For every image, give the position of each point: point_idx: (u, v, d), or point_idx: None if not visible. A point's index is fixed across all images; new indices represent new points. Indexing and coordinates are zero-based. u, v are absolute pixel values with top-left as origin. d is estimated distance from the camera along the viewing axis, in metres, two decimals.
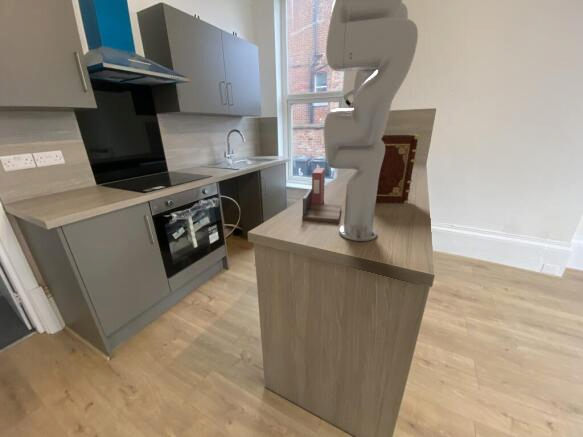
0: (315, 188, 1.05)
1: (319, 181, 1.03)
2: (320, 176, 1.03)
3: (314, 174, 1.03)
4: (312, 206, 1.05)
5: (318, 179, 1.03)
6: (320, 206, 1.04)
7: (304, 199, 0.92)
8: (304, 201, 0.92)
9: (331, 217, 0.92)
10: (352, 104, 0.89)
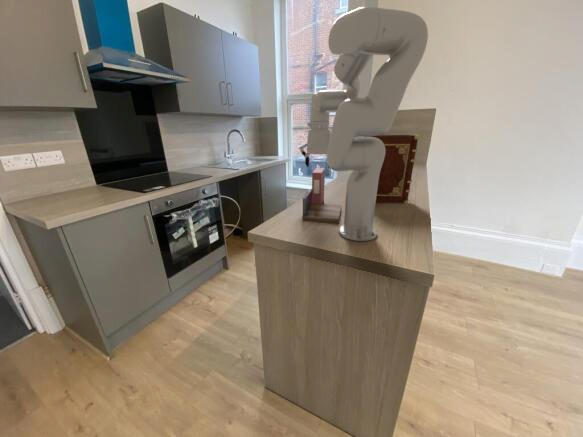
0: (315, 188, 1.05)
1: (319, 181, 1.03)
2: (320, 176, 1.03)
3: (314, 174, 1.03)
4: (312, 206, 1.05)
5: (318, 179, 1.03)
6: (320, 206, 1.04)
7: (304, 199, 0.92)
8: (304, 201, 0.92)
9: (331, 217, 0.92)
10: (306, 155, 1.06)
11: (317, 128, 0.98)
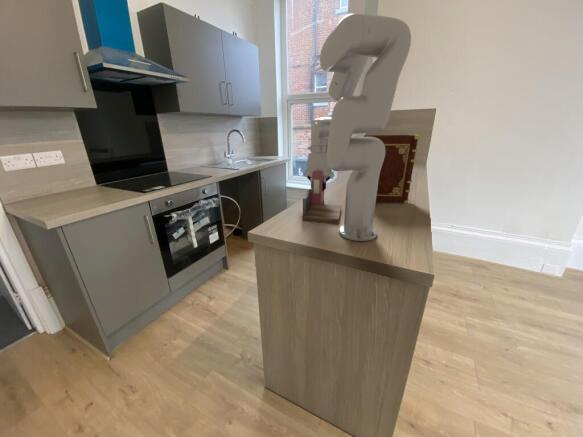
0: (315, 188, 1.05)
1: (319, 181, 1.03)
2: (320, 176, 1.03)
3: (314, 174, 1.03)
4: (312, 206, 1.05)
5: (318, 179, 1.03)
6: (320, 206, 1.04)
7: (304, 199, 0.92)
8: (304, 201, 0.92)
9: (331, 217, 0.92)
10: (311, 179, 1.09)
11: (317, 152, 1.02)
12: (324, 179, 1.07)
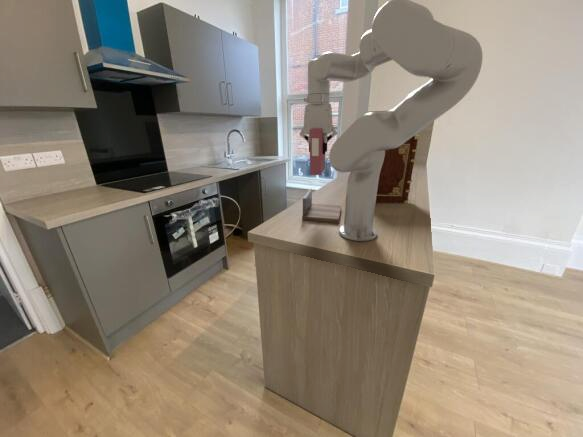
0: (314, 149, 0.86)
1: (318, 140, 0.84)
2: (319, 133, 0.83)
3: (312, 131, 0.83)
4: (312, 206, 1.05)
5: (317, 137, 0.84)
6: (320, 206, 1.04)
7: (304, 199, 0.92)
8: (304, 201, 0.92)
9: (331, 217, 0.92)
10: (309, 139, 0.89)
11: (315, 102, 0.82)
12: (325, 138, 0.88)
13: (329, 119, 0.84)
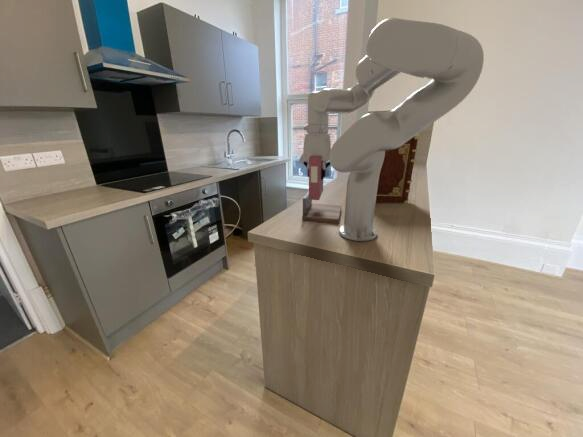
0: (313, 176, 0.89)
1: (317, 168, 0.88)
2: (318, 162, 0.87)
3: (311, 160, 0.87)
4: (312, 206, 1.05)
5: (316, 166, 0.87)
6: (320, 206, 1.04)
7: (304, 199, 0.92)
8: (304, 201, 0.92)
9: (331, 217, 0.92)
10: (308, 165, 0.93)
11: (315, 132, 0.86)
12: (323, 165, 0.91)
13: (328, 148, 0.87)
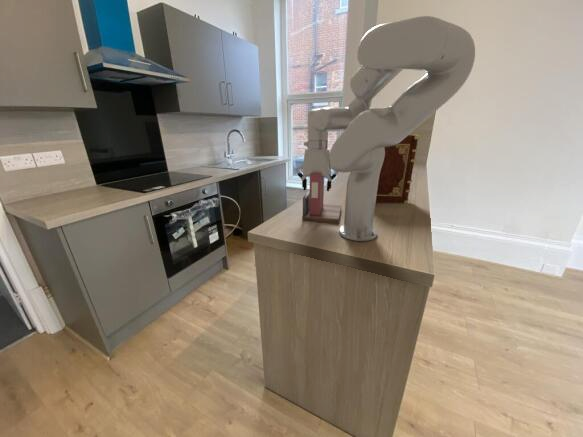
0: (313, 192, 0.92)
1: (318, 184, 0.90)
2: (319, 178, 0.89)
3: (312, 176, 0.90)
4: None
5: (316, 182, 0.90)
6: None
7: (304, 199, 0.92)
8: (304, 201, 0.92)
9: (331, 217, 0.92)
10: (303, 177, 0.95)
11: (314, 148, 0.88)
12: (328, 177, 0.93)
13: (327, 163, 0.89)
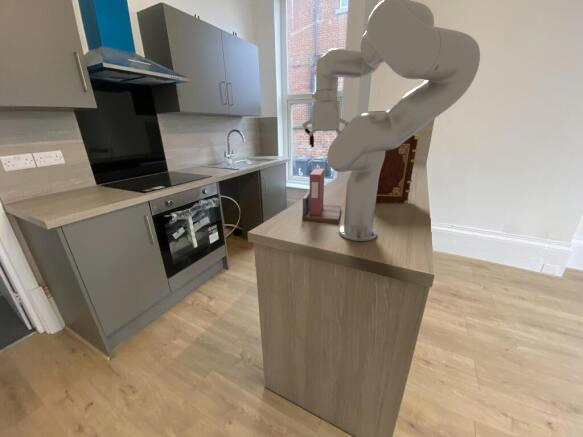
0: (313, 192, 0.92)
1: (318, 184, 0.90)
2: (319, 178, 0.89)
3: (312, 176, 0.90)
4: None
5: (316, 182, 0.90)
6: None
7: (304, 199, 0.92)
8: (304, 201, 0.92)
9: (331, 217, 0.92)
10: (311, 133, 0.90)
11: (324, 98, 0.83)
12: (338, 132, 0.88)
13: (337, 116, 0.85)
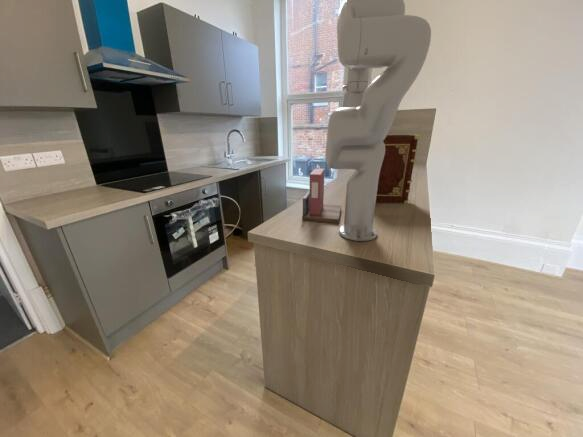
0: (313, 192, 0.92)
1: (318, 184, 0.90)
2: (319, 178, 0.89)
3: (312, 176, 0.90)
4: None
5: (316, 182, 0.90)
6: None
7: (304, 199, 0.92)
8: (304, 201, 0.92)
9: (331, 217, 0.92)
10: None
11: (355, 89, 0.87)
12: None
13: None
